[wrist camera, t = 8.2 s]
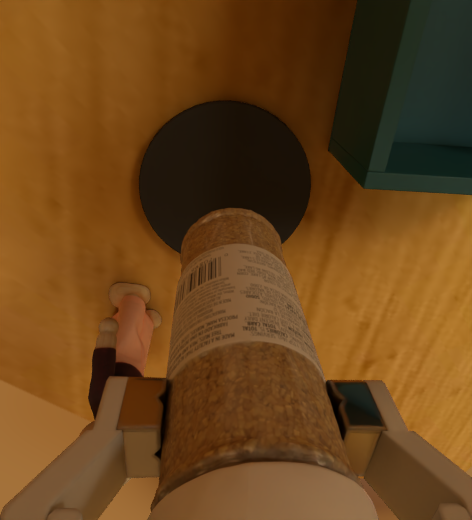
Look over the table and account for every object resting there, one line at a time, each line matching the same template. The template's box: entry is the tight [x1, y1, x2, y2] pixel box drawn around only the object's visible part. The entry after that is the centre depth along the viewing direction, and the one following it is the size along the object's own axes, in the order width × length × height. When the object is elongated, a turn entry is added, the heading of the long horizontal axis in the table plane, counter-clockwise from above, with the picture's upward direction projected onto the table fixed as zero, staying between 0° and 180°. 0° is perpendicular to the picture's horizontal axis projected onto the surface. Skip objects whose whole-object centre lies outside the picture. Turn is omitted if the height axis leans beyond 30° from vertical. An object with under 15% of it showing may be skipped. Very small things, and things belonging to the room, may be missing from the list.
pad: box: [139, 101, 311, 254], centre depth 24 cm, size 10×10×1 cm
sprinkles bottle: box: [148, 208, 379, 520], centre depth 12 cm, size 5×5×14 cm
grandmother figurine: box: [79, 283, 162, 484], centre depth 23 cm, size 8×4×13 cm, turn 22°
